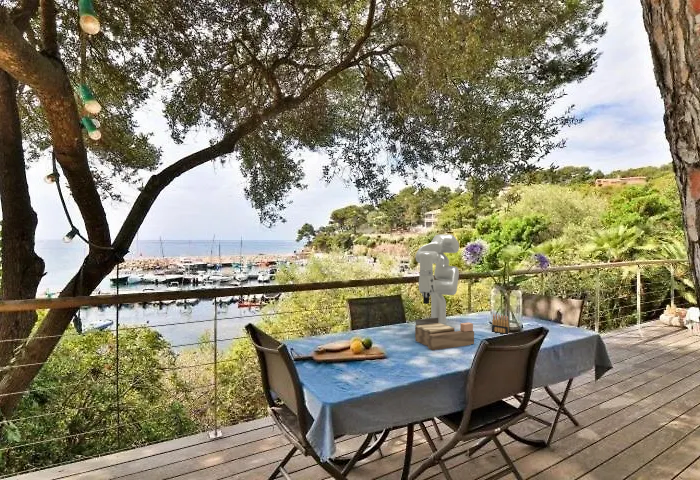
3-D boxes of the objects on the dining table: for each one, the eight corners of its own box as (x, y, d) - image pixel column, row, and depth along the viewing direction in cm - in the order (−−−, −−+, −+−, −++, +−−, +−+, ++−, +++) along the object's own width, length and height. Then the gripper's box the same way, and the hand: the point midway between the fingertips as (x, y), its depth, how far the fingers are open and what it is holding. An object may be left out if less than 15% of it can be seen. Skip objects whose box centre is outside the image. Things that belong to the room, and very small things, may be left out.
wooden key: (460, 330, 247) (460, 323, 247) (468, 329, 250) (468, 322, 250) (464, 331, 244) (464, 324, 244) (473, 330, 246) (473, 323, 246)
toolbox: (412, 341, 254) (412, 327, 254) (451, 336, 266) (451, 323, 265) (432, 350, 235) (432, 335, 235) (474, 344, 247) (474, 330, 246)
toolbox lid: (415, 326, 255) (415, 319, 255) (437, 324, 261) (437, 317, 261) (430, 332, 240) (430, 325, 240) (454, 329, 247) (454, 322, 246)
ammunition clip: (491, 332, 274) (491, 313, 273) (493, 332, 275) (493, 313, 275) (508, 335, 266) (508, 316, 266) (509, 335, 268) (509, 315, 267)
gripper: (439, 273, 256) (439, 304, 256) (422, 271, 268) (422, 301, 269) (430, 274, 252) (430, 306, 252) (413, 272, 264) (413, 302, 265)
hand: (426, 303), depth 261 cm, fingers closed
